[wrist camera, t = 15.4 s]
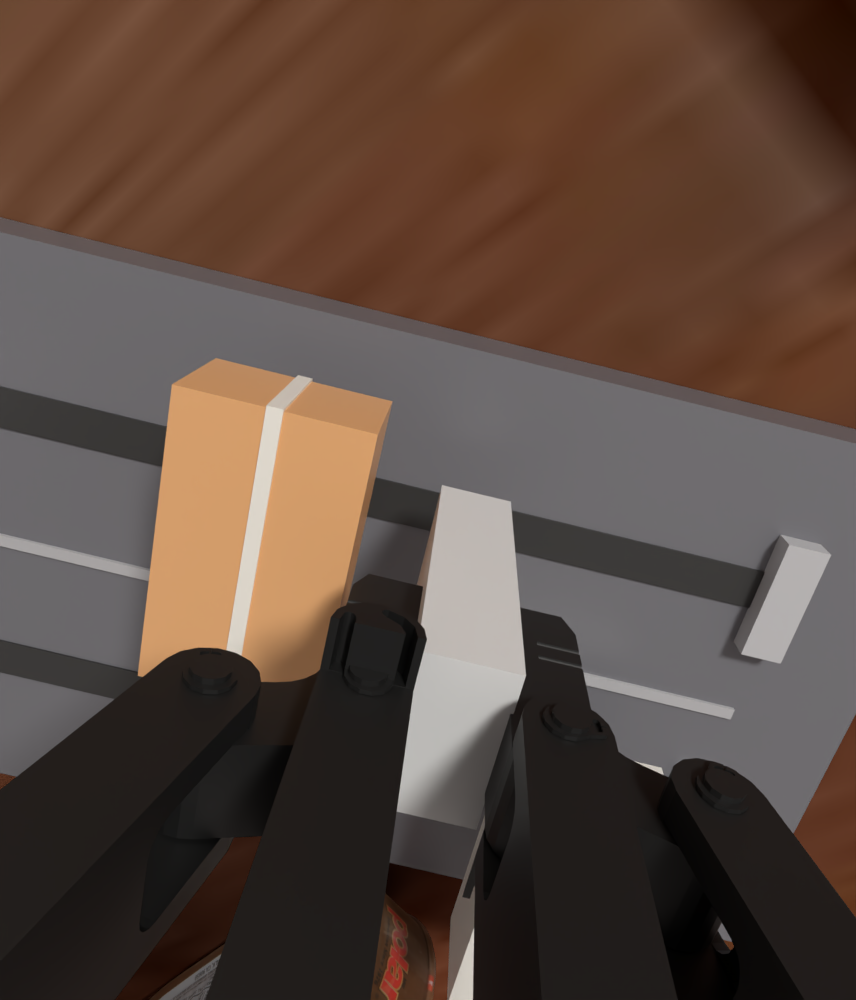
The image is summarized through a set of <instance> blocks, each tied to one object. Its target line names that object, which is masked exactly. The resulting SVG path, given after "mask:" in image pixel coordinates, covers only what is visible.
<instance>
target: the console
mask: <svg viewBox="0 0 856 1000" xmlns="http://www.w3.org/2000/svg"><path fill="white" fill-rule="evenodd" d="M215 358H218V359H222V360H226V361H230V362H234V363H238V364H242V365H246V366H250V367H254V368H258V369H263V370H267V371H271V372H275V373H279V374H283V375H287V376H291V377H295V378H296V377H297V376H298V375H300V376H304V377H308V378H312V379H313V380H312V382H316V383H320V384H324V385H328V386H332V387H336V388H340V389H344V390H348V391H352V392H356V393H360V394H365V395H369V396H373V397H377V398H381V399H385V400H389V401H392V406H391V410H390V415H389V419H388V424H387V428H386V433H385V437H384V442H383V446H382V451H381V455H380V460H379V464H378V469H377V473H376V478H375V482H374V487H373V491H372V495H371V500H370V504H369V509H368V513H367V518H366V522H365V527H364V531H363V536H362V540H361V545H360V549H359V554H358V558H357V563H356V567H355V572H354V576H353V581H352V585H351V589H352V586H353V584H354V583H356V582H357V581H359V580H360V579H362V578H363V577H365V576H366V575H368V574H372V575H377V576H381V577H385V578H389V579H393V580H398V581H402V582H406V583H410V584H415V585H417V582H418V578H419V574H420V570H421V566H422V562H423V558H424V554H425V550H426V546H427V543H428V539H429V535H430V531H431V527H432V523H433V519H434V515H435V511H436V507H437V503H438V499H439V495H440V491H441V487H442V485H444V486H448V487H452V488H456V489H460V490H465V491H469V492H473V493H477V494H481V495H485V496H490V497H494V498H498V499H502V500H506V501H511V509H512V521H513V532H514V544H515V555H516V567H517V578H518V590H519V601H520V607H521V608H525V609H529V610H533V611H538V612H542V613H546V614H550V615H555V616H559V617H562V619H563V620H564V621H565V622H566V624H567V625H568V626H569V627H570V628H571V630H572V631H573V632H574V633H575V635H576V639H577V644H578V649H579V655H580V658H581V663H582V668H581V669H583V673H584V677H585V682H586V687H587V692H588V696H589V701H590V706H591V710H593V711H595V712H596V713H598V714H599V715H600V716H601V717H602V718H603V719H604V720H605V721H606V722H607V723H608V724H609V726H610V728H611V730H612V732H613V734H614V736H615V739H616V743H617V747H618V752H620V753H621V754H623V755H624V756H625V757H627V758H629V759H631V760H633V761H635V762H639V763H644V764H648V765H652V766H656V767H661V768H662V771H663V774H664V775H665V776H667V777H669V775H670V773H671V770H672V768H673V766H674V765H675V764H677V763H678V762H680V761H681V760H683V759H692V758H700V759H705V760H709V761H714V762H717V763H720V764H723V765H724V766H728V767H730V768H732V769H734V770H735V771H737V772H738V773H739V774H741V775H742V776H744V777H745V778H746V779H748V780H749V781H751V782H752V783H753V784H754V785H755V786H756V787H757V788H758V789H759V790H760V791H761V792H762V793H763V794H764V795H765V797H766V798H767V799H768V801H769V802H770V803H771V805H772V806H773V807H774V809H775V810H776V811H777V813H778V814H779V815H780V817H781V818H782V819H783V821H784V822H785V824H786V825H787V826H788V828H789V829H790V830H791V832H792V833H794V831H795V829H796V827H797V825H798V824H799V822H800V820H801V818H802V816H803V814H804V812H805V810H806V808H807V806H808V804H809V802H810V800H811V799H812V797H813V795H814V793H815V791H816V789H817V787H818V785H819V783H820V781H821V779H822V777H823V775H824V774H825V772H826V770H827V768H828V766H829V764H830V762H831V760H832V758H833V756H834V754H835V752H836V751H837V749H838V747H839V745H840V743H841V741H842V739H843V737H844V735H845V733H846V731H847V729H848V727H849V726H850V724H851V722H852V720H853V718H854V716H855V714H856V429H852V428H848V427H844V426H840V425H836V424H832V423H828V422H824V421H820V420H816V419H812V418H808V417H804V416H800V415H796V414H792V413H788V412H784V411H780V410H776V409H772V408H768V407H764V406H760V405H755V404H751V403H747V402H743V401H739V400H735V399H731V398H727V397H723V396H719V395H715V394H711V393H707V392H703V391H699V390H695V389H691V388H687V387H683V386H679V385H675V384H671V383H667V382H663V381H659V380H655V379H651V378H647V377H643V376H638V375H634V374H630V373H626V372H622V371H618V370H614V369H610V368H606V367H602V366H598V365H594V364H590V363H586V362H582V361H578V360H574V359H570V358H566V357H562V356H558V355H554V354H550V353H546V352H542V351H538V350H534V349H530V348H525V347H521V346H517V345H513V344H509V343H505V342H501V341H497V340H493V339H489V338H485V337H481V336H477V335H473V334H469V333H465V332H461V331H457V330H453V329H449V328H445V327H441V326H437V325H433V324H429V323H425V322H421V321H417V320H412V319H408V318H404V317H400V316H396V315H392V314H388V313H384V312H380V311H376V310H372V309H368V308H364V307H360V306H356V305H352V304H348V303H344V302H340V301H336V300H332V299H328V298H324V297H320V296H316V295H312V294H308V293H304V292H300V291H295V290H291V289H287V288H283V287H279V286H275V285H271V284H267V283H263V282H259V281H255V280H251V279H247V278H243V277H239V276H235V275H231V274H227V273H223V272H219V271H215V270H211V269H207V268H203V267H199V266H195V265H191V264H187V263H182V262H178V261H174V260H170V259H166V258H162V257H158V256H154V255H150V254H146V253H142V252H138V251H134V250H130V249H126V248H122V247H118V246H114V245H110V244H106V243H102V242H98V241H94V240H90V239H86V238H82V237H78V236H74V235H70V234H65V233H61V232H57V231H53V230H49V229H45V228H41V227H37V226H33V225H29V224H25V223H21V222H17V221H13V220H9V219H5V218H1V217H0V773H3V774H7V775H12V776H16V777H17V776H18V775H20V774H21V773H22V772H23V771H25V770H26V769H27V768H28V767H30V766H31V765H32V764H33V763H35V762H36V761H37V760H39V759H40V758H41V757H42V756H44V755H45V754H46V753H47V752H49V751H50V750H51V749H52V748H54V747H55V746H56V745H57V744H59V743H60V742H61V741H62V740H64V739H65V738H66V737H68V736H69V735H70V734H71V733H73V732H74V731H75V730H76V729H78V728H79V727H80V726H81V725H83V724H84V723H85V722H86V721H88V720H89V719H90V718H91V717H93V716H94V715H95V714H97V713H98V712H99V711H100V710H102V709H103V708H104V707H105V706H107V705H108V704H109V703H110V702H112V701H113V700H114V699H115V698H117V697H118V696H119V695H120V694H122V693H123V692H124V691H126V690H127V689H128V688H129V687H131V686H132V685H133V684H134V683H136V682H137V681H138V680H139V679H141V678H142V677H141V676H138V669H139V660H140V652H141V643H142V635H143V626H144V618H145V609H146V601H147V592H148V584H149V575H150V567H151V558H152V550H153V541H154V533H155V524H156V516H157V507H158V499H159V490H160V482H161V473H162V465H163V456H164V448H165V439H166V431H167V422H168V414H169V405H170V397H171V388H172V384H173V383H175V382H177V381H178V380H180V379H182V378H183V377H185V376H187V375H188V374H190V373H192V372H193V371H195V370H197V369H199V368H200V367H202V366H204V365H205V364H207V363H209V362H210V361H212V360H214V359H215ZM351 589H350V592H351ZM349 595H350V594H349ZM484 816H485V804H484V807H483V810H482V813H481V816H480V819H479V823H478V826H477V829H476V830H475V829H470V828H466V827H462V826H457V825H453V824H449V823H444V822H440V821H436V820H431V819H427V818H423V817H418V816H414V815H410V814H405V813H401V812H397V813H396V820H395V827H394V834H393V842H392V849H391V856H390V863H393V864H398V865H402V866H406V867H411V868H415V869H419V870H424V871H428V872H432V873H437V874H441V875H445V876H450V877H454V878H458V879H464V876H465V873H466V870H467V867H468V864H469V861H470V858H471V855H472V852H473V849H474V846H475V843H476V840H477V837H478V834H479V831H480V828H481V825H482V822H483V819H484ZM718 932H719V933H720V935H721V937H722V939H723V940H727V941H731V942H732V940H731V938H730V936H729V935H728V933H727V931H726V929H725V927H724V926H723V924H722V923H721V925H720V927H719V929H718Z"/></svg>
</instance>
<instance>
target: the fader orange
mask: <svg viewBox="0 0 856 1000" xmlns="http://www.w3.org/2000/svg"><path fill="white" fill-rule="evenodd" d="M312 380H313V379H312V378H308V377H304V376H300V375H298V376H297V377H296V378H295V377H291V376H287V375H283V374H279V373H275V372H271V371H267V370H263V369H258V368H254V367H250V366H246V365H242V364H238V363H234V362H230V361H226V360H222V359H218V358H215V359H214V360H212V361H210V362H209V363H207V364H205V365H204V366H202V367H200V368H199V369H197V370H195V371H193V372H192V373H190V374H188V375H187V376H185V377H183V378H182V379H180V380H178V381H177V382H175V383H173V384H172V388H171V397H170V405H169V414H168V422H167V431H166V439H165V448H164V456H163V465H162V473H161V482H160V490H159V499H158V507H157V516H156V524H155V533H154V541H153V550H152V558H151V567H150V575H149V584H148V592H147V601H146V609H145V618H144V626H143V635H142V643H141V652H140V660H139V669H138V676H141V677H143V676H144V675H146V674H147V673H148V672H149V671H151V670H152V669H153V668H155V667H156V666H157V665H158V664H160V663H161V662H162V661H163V660H165V659H166V658H168V657H170V656H172V655H174V654H176V653H178V652H179V651H183V650H188V649H193V648H219V649H223V650H227V651H231V652H235V653H237V654H239V655H241V656H243V657H244V658H246V659H248V660H250V661H251V662H252V663H253V664H254V666H255V667H256V668H257V669H258V670H259V672H260V678H261V682H288V681H295V680H300V679H304V678H307V677H309V676H311V675H313V674H315V673H317V672H318V671H319V670H320V666H321V661H322V657H323V652H324V647H325V642H326V638H327V633H328V628H329V623H330V619H331V616H332V615H333V614H334V613H335V611H336V610H337V609H338V608H341V607H343V606H346V604H347V601H348V598H349V594H350V589H351V585H352V581H353V576H354V572H355V567H356V563H357V558H358V554H359V549H360V545H361V540H362V536H363V531H364V527H365V522H366V518H367V513H368V509H369V504H370V500H371V495H372V491H373V487H374V482H375V478H376V473H377V469H378V464H379V460H380V455H381V451H382V446H383V442H384V437H385V433H386V428H387V424H388V419H389V415H390V410H391V406H392V401H389V400H385V399H381V398H377V397H373V396H369V395H365V394H360V393H356V392H352V391H348V390H344V389H340V388H336V387H332V386H328V385H324V384H320V383H316V382H312Z"/></svg>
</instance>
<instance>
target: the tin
mask: <svg viewBox="0 0 856 1000" xmlns="http://www.w3.org/2000/svg"><path fill="white" fill-rule="evenodd" d="M224 945H225V944H224ZM224 945H222V946H221V947H219V948H218V949H216V950H215V951H213V952H212V953H210V954H209V955H208V956H206V957H205V958H203V959H202V960H200V961H199V962H197V963H196V964H195V965H193V966H192V967H190V968H189V969H187V970H186V971H185V972H183V973H182V974H180V975H179V976H177V977H176V978H174V979H173V980H172V981H170V982H169V983H168V984H167V985H165V986H164V987H163V988H162V989H160V990H159V991H158V992H157V993H156V994H155V995H154V996H153V997H151V998H150V999H149V1000H206V997H207V994H208V991H209V988H210V985H211V982H212V979H213V977H214V974H215V971H216V968H217V965H218V962H219V959H220V956H221V953H222V950H223V948H224ZM435 975H436V962H435V953H434V948H433V944H432V940H431V937H430V935H429V933H428V931H427V929H426V927H425V926H424V925H423V924H422V923H421V922H420V921H419V920H418V919H417V918H416V917H414V916H412V915H410V914H407V913H406V912H405V911H404V910H403V909H402V908H401V907H400V906H399V905H398V904H397V903H395V902H394V901H393V900H392V899H391V898H390V897H389V896H388V895H387V894H386V893H385V899H384V906H383V913H382V920H381V927H380V935H379V942H378V949H377V956H376V963H375V970H374V978H373V985H372V992H371V999H370V1000H433V994H434V985H435Z"/></svg>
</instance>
